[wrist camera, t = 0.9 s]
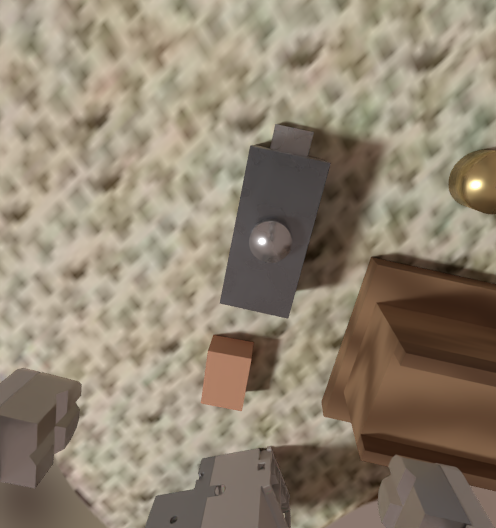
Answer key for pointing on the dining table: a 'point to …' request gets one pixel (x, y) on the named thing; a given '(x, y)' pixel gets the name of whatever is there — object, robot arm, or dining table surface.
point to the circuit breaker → (228, 495)
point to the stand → (420, 370)
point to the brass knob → (475, 181)
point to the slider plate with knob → (274, 223)
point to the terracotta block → (227, 372)
